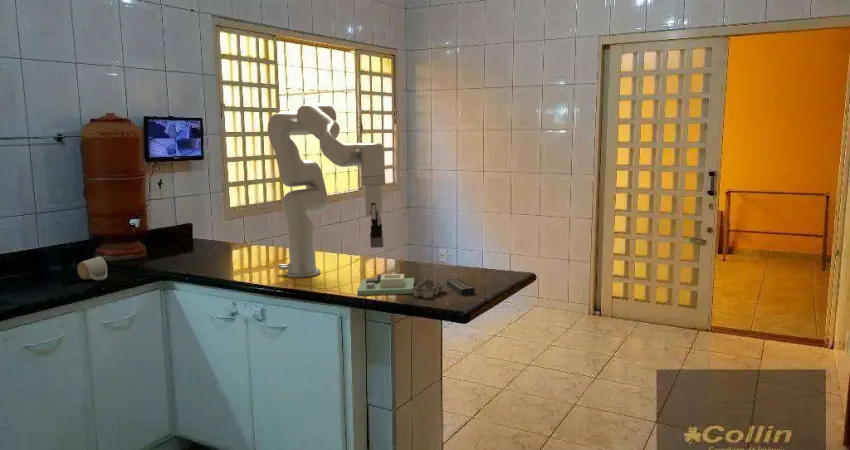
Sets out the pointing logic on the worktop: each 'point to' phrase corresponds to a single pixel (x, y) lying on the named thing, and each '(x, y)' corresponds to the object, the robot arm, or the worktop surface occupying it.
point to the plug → (377, 241)
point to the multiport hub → (460, 286)
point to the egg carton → (427, 288)
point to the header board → (386, 285)
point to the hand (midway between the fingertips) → (376, 236)
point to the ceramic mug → (93, 269)
